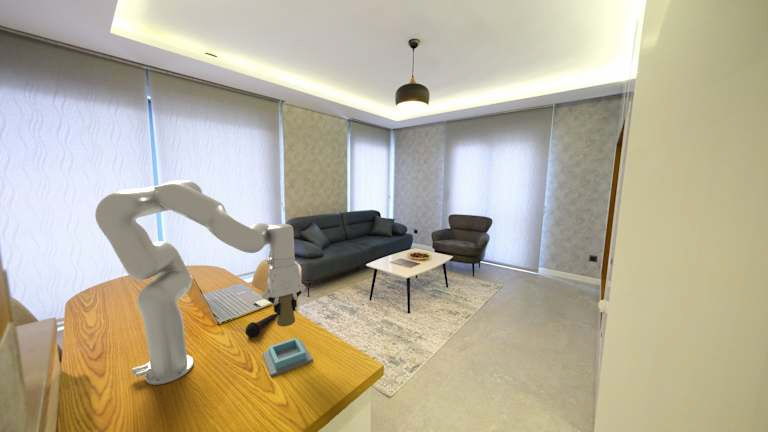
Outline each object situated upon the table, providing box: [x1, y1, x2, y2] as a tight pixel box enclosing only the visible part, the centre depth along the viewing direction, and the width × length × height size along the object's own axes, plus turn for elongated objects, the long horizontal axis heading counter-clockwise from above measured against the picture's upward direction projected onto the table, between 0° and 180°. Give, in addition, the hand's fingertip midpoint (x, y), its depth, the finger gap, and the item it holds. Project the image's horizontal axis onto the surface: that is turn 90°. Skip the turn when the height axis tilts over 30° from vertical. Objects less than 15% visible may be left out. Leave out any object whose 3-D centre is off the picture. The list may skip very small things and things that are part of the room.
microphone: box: [245, 313, 278, 338], centre depth 119 cm, size 6×6×20 cm
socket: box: [262, 337, 314, 378], centre depth 99 cm, size 14×13×3 cm
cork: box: [276, 294, 296, 327], centre depth 96 cm, size 6×6×11 cm
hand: (285, 311), depth 96 cm, fingers closed on cork, 4 cm apart
